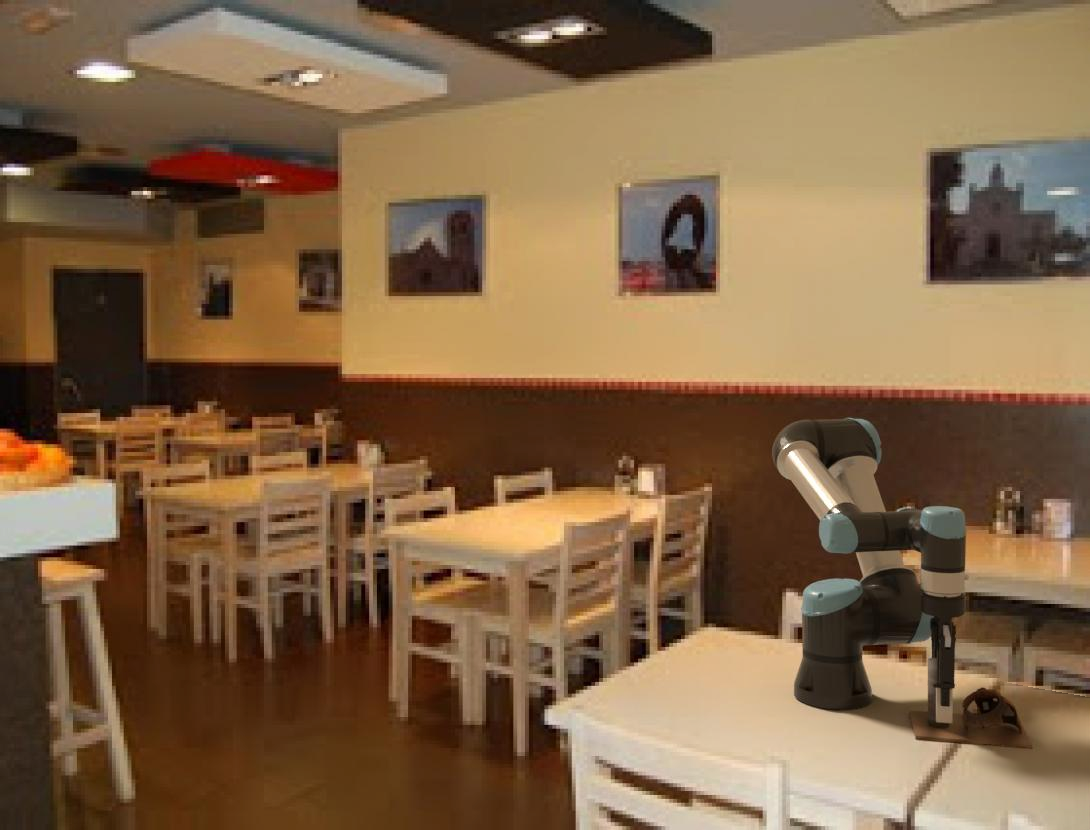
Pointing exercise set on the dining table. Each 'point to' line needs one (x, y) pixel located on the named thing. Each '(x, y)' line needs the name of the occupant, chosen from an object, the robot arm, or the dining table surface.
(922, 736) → the brown board with post
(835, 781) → the dining table surface
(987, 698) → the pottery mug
